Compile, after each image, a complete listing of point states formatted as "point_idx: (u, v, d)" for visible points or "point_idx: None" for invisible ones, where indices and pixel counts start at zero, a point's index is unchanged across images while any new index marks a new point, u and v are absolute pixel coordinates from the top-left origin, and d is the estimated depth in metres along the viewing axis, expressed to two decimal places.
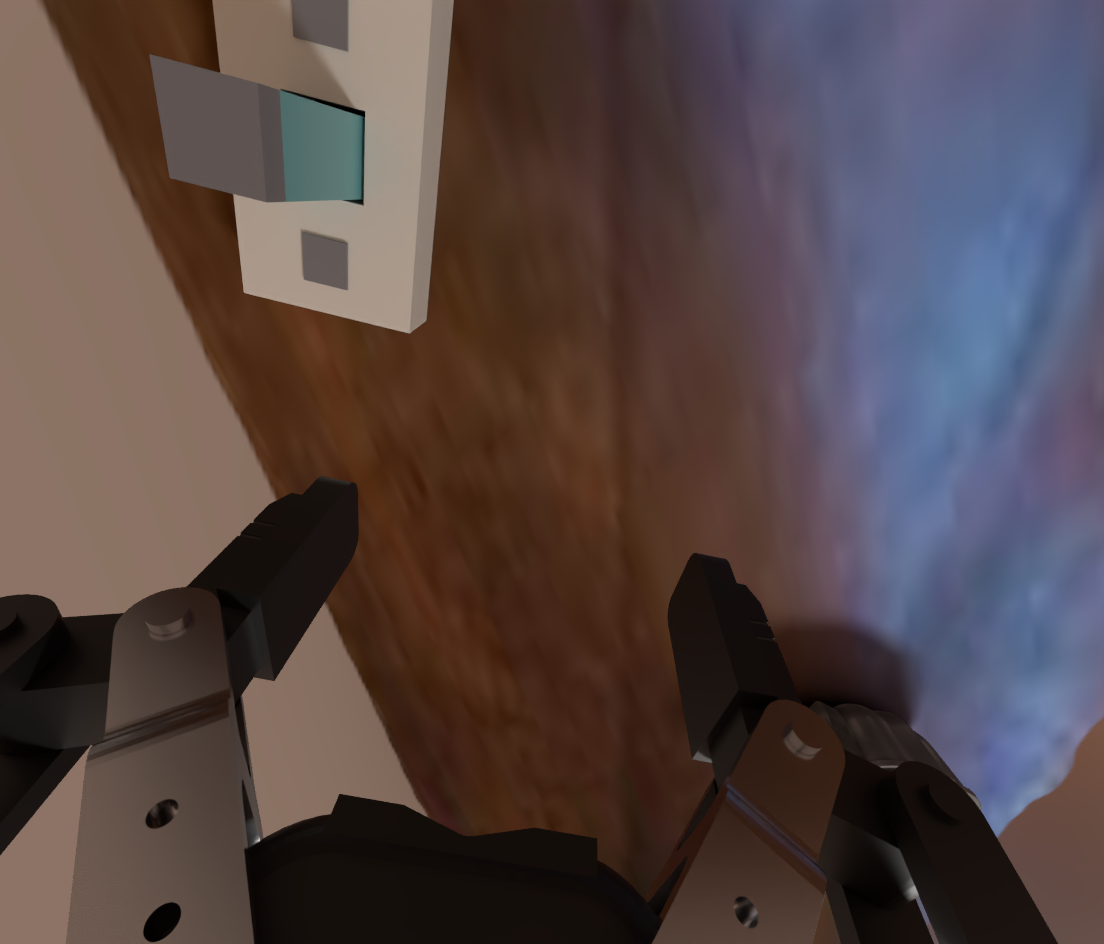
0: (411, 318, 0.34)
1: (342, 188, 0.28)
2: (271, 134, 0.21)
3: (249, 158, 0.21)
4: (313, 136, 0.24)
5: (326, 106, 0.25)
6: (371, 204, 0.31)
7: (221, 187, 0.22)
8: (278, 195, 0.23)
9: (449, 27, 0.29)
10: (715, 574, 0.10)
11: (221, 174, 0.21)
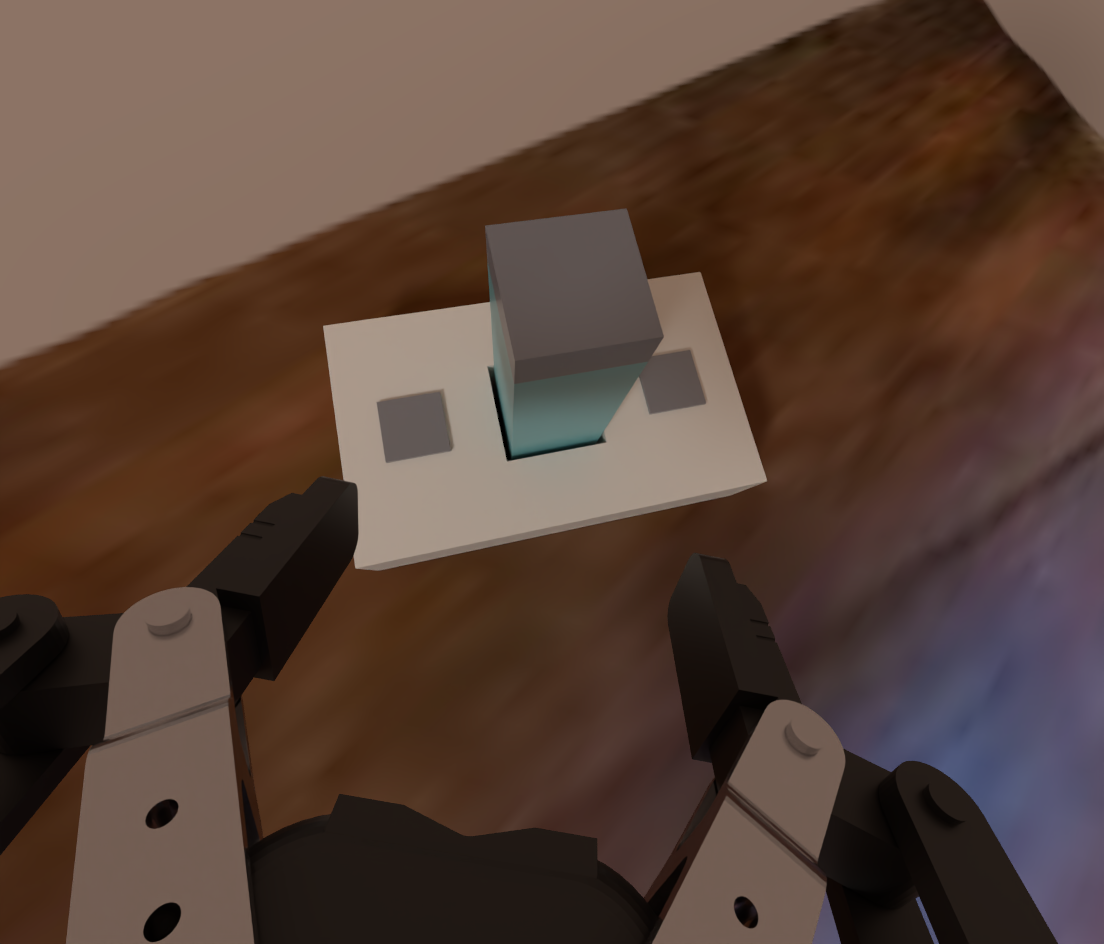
0: (379, 564, 0.21)
1: (526, 438, 0.21)
2: (602, 357, 0.14)
3: (565, 332, 0.14)
4: (589, 401, 0.18)
5: (616, 408, 0.20)
6: (512, 470, 0.23)
7: (505, 295, 0.14)
8: (523, 374, 0.14)
9: (698, 501, 0.27)
10: (715, 574, 0.10)
11: (524, 295, 0.14)
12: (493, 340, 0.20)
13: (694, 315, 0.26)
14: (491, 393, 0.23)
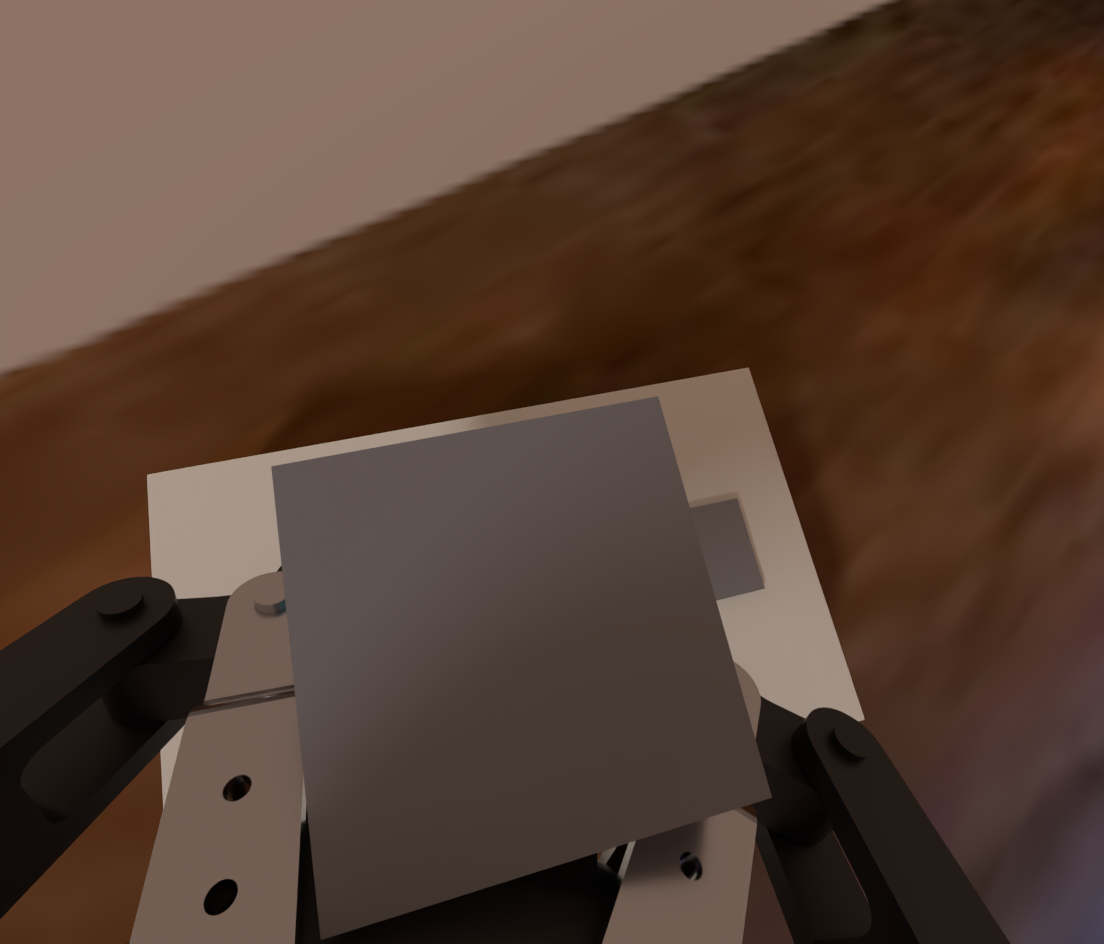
0: None
1: None
2: None
3: (485, 810, 0.05)
4: None
5: None
6: None
7: (311, 693, 0.05)
8: None
9: None
10: None
11: (366, 690, 0.05)
12: None
13: (740, 438, 0.17)
14: None
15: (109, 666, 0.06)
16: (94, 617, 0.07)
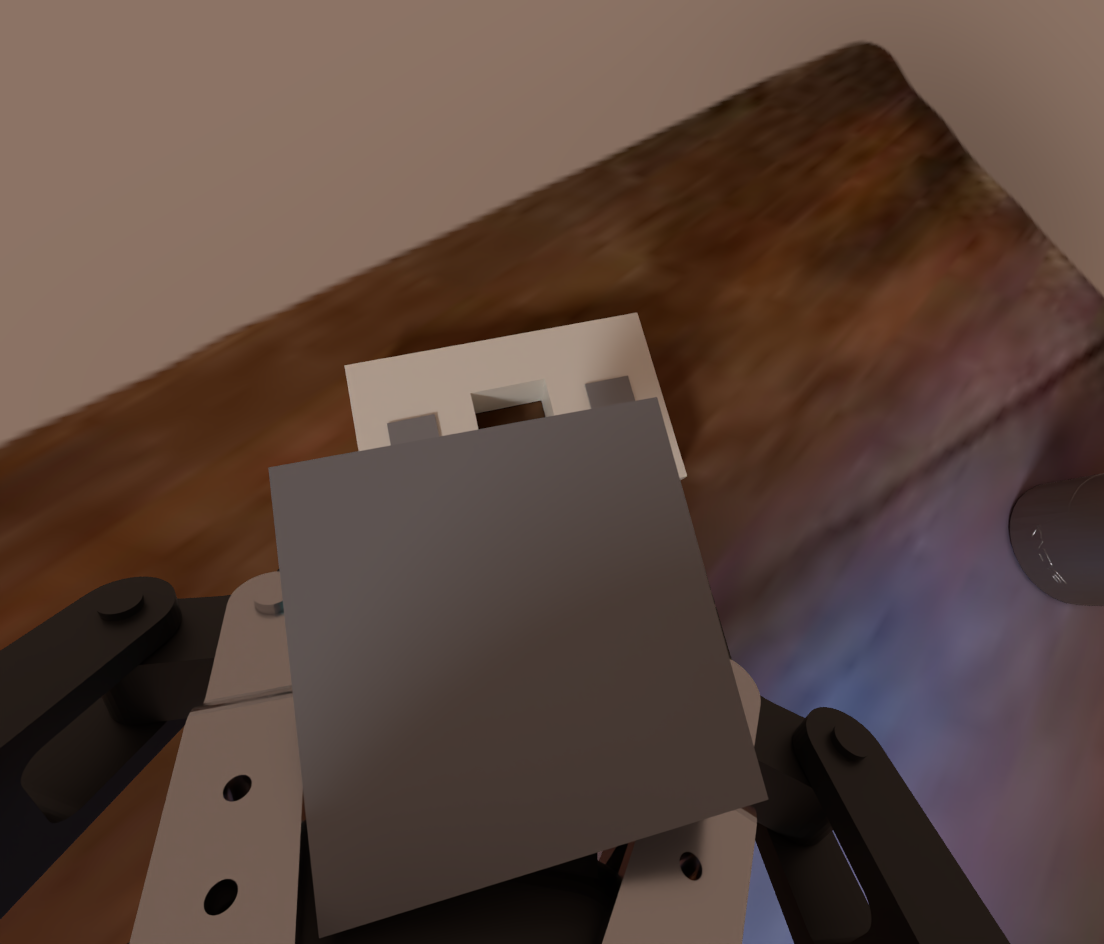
0: None
1: None
2: None
3: (482, 811, 0.05)
4: None
5: None
6: None
7: (309, 694, 0.05)
8: None
9: None
10: None
11: (364, 691, 0.05)
12: None
13: (631, 347, 0.33)
14: (473, 414, 0.31)
15: (109, 667, 0.06)
16: (95, 617, 0.07)
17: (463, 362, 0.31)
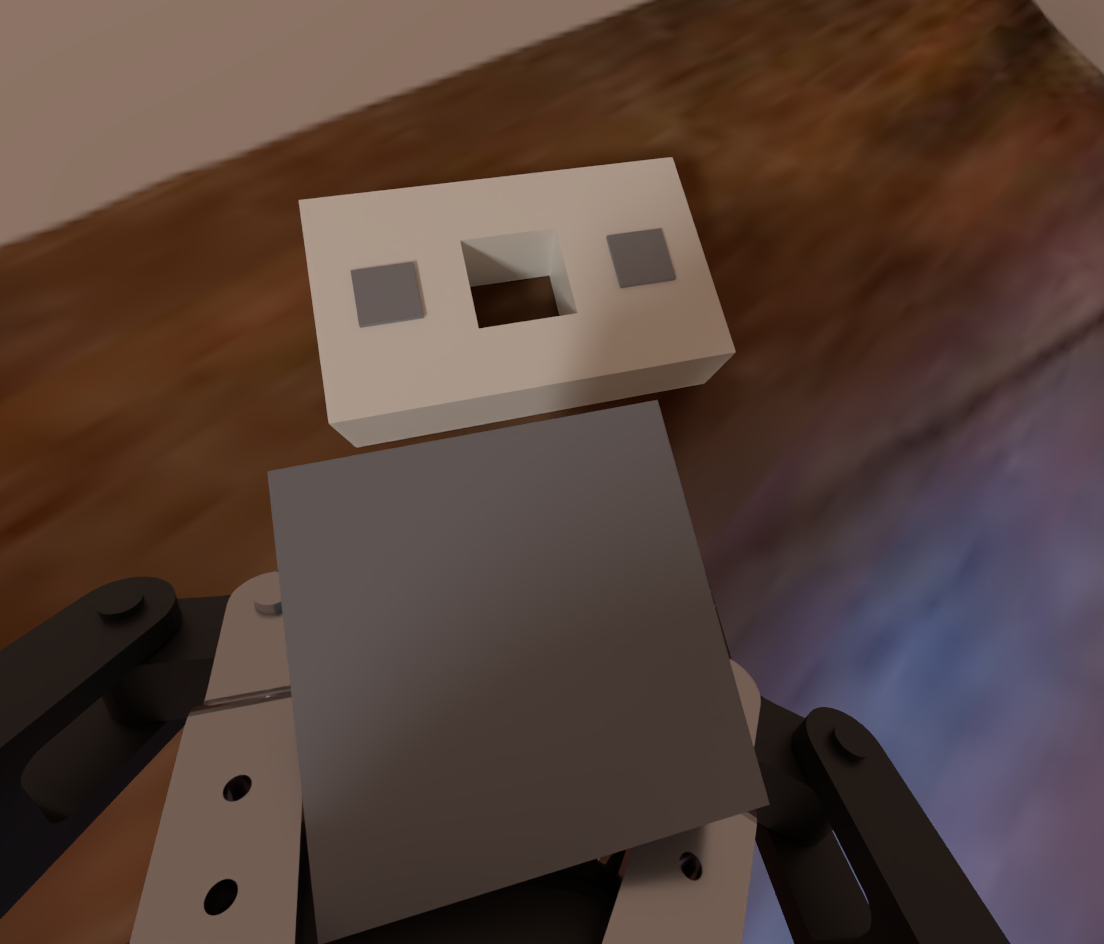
0: (353, 422, 0.22)
1: None
2: None
3: (483, 817, 0.05)
4: None
5: None
6: (484, 337, 0.23)
7: (308, 699, 0.05)
8: None
9: (671, 386, 0.27)
10: None
11: (364, 696, 0.05)
12: None
13: (665, 197, 0.26)
14: (464, 265, 0.24)
15: (109, 666, 0.06)
16: (94, 617, 0.07)
17: (452, 204, 0.25)
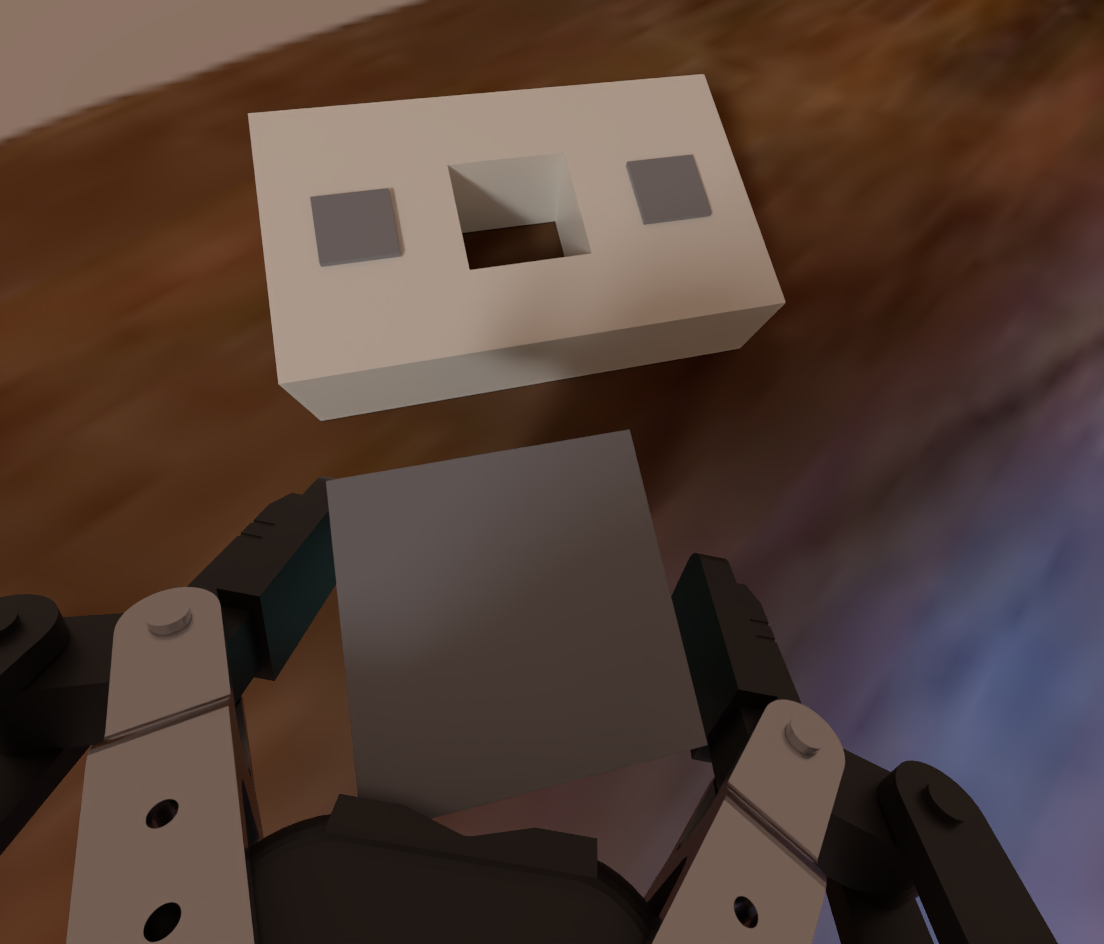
0: (310, 383, 0.17)
1: None
2: None
3: (486, 747, 0.06)
4: None
5: None
6: (476, 280, 0.19)
7: (356, 655, 0.06)
8: None
9: (702, 351, 0.23)
10: (715, 574, 0.10)
11: (398, 653, 0.06)
12: None
13: (696, 119, 0.21)
14: (452, 194, 0.19)
15: None
16: None
17: (438, 122, 0.20)
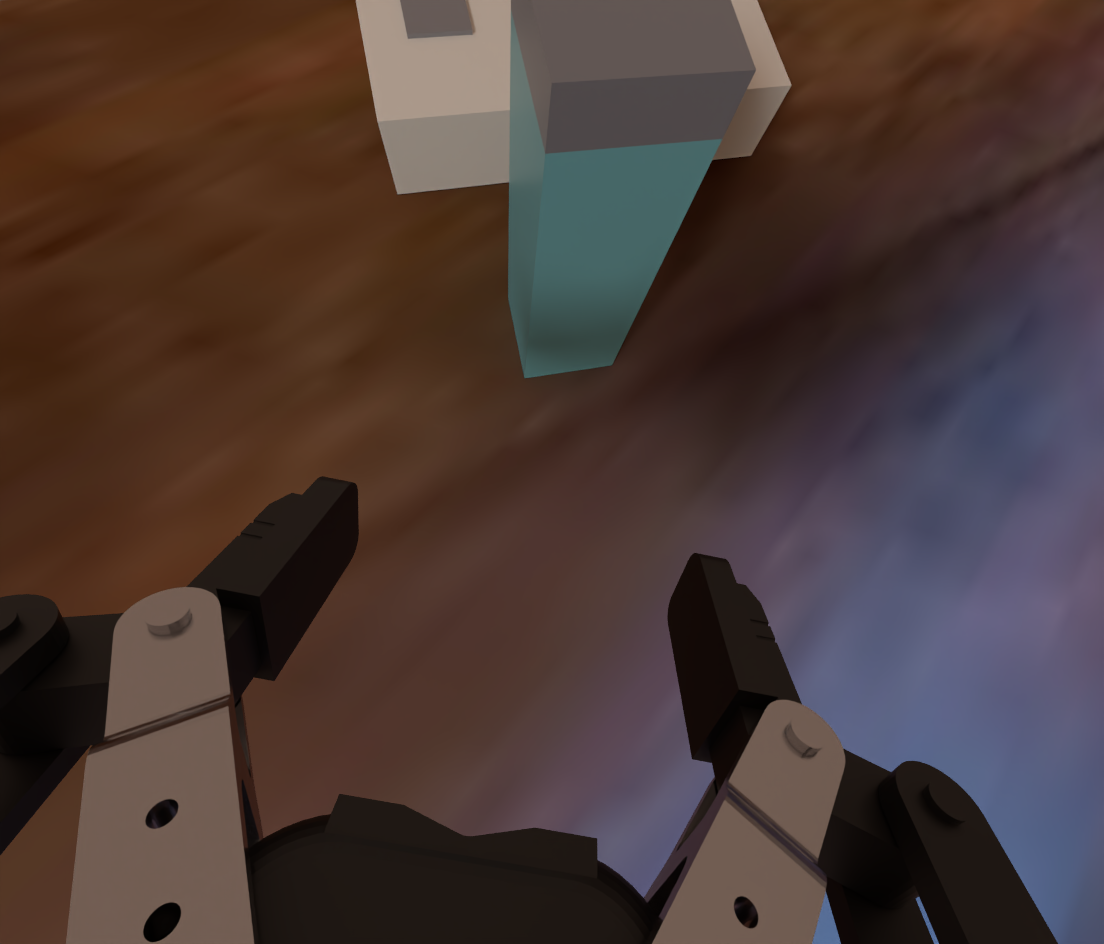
0: (401, 126, 0.21)
1: (548, 302, 0.17)
2: (667, 109, 0.10)
3: (621, 54, 0.10)
4: (633, 229, 0.14)
5: (663, 256, 0.16)
6: None
7: (539, 4, 0.10)
8: (559, 128, 0.10)
9: (719, 152, 0.27)
10: (715, 574, 0.10)
11: (564, 6, 0.10)
12: (511, 175, 0.16)
13: None
14: None
15: None
16: None
17: None
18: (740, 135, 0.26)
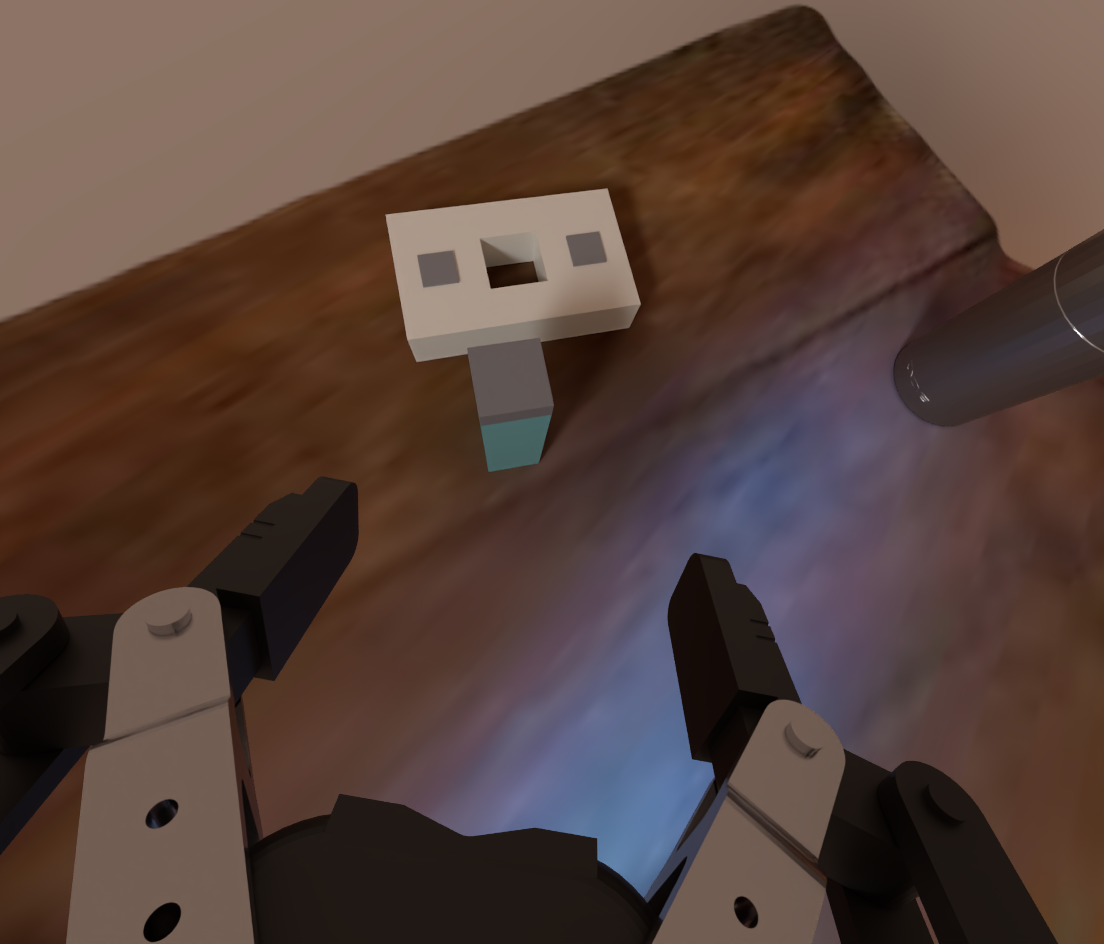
0: (420, 340, 0.39)
1: (493, 451, 0.35)
2: (524, 414, 0.28)
3: (504, 403, 0.28)
4: (526, 432, 0.32)
5: (545, 435, 0.34)
6: (494, 293, 0.40)
7: (475, 384, 0.28)
8: (484, 422, 0.28)
9: (608, 328, 0.44)
10: (715, 574, 0.10)
11: (485, 384, 0.28)
12: None
13: (602, 213, 0.43)
14: (481, 253, 0.41)
15: None
16: None
17: (474, 217, 0.42)
18: (618, 322, 0.44)
